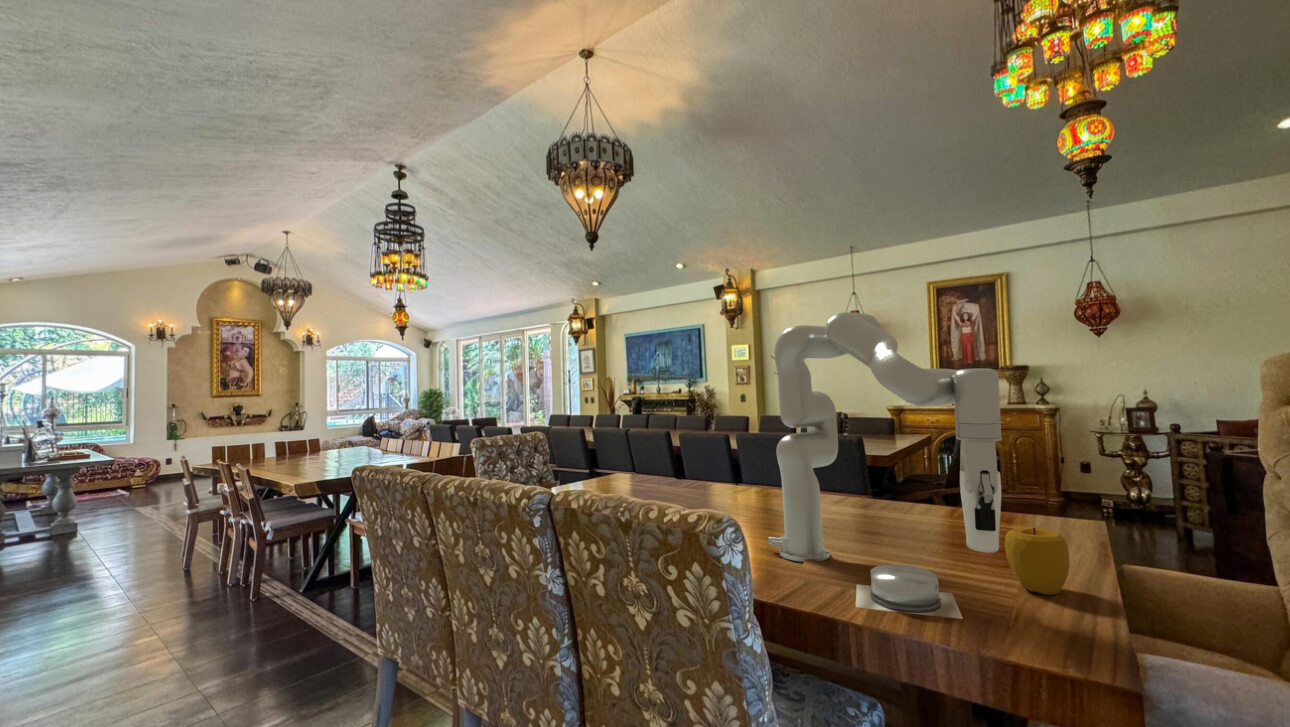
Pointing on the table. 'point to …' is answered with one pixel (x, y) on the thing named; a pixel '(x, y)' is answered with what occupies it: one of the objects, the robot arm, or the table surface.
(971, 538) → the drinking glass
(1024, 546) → the apple
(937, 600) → the grey short round cylinder
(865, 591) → the board
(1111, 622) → the table surface
